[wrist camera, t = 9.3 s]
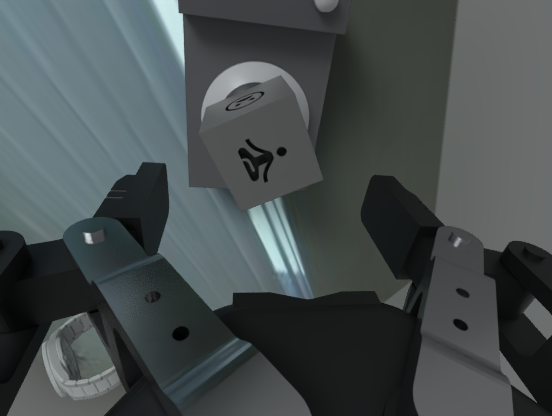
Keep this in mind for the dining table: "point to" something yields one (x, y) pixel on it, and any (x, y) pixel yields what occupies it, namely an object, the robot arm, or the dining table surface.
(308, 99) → the camera body
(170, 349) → the robot arm
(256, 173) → the dice cube
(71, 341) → the watch
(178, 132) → the dining table surface
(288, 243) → the dining table surface
